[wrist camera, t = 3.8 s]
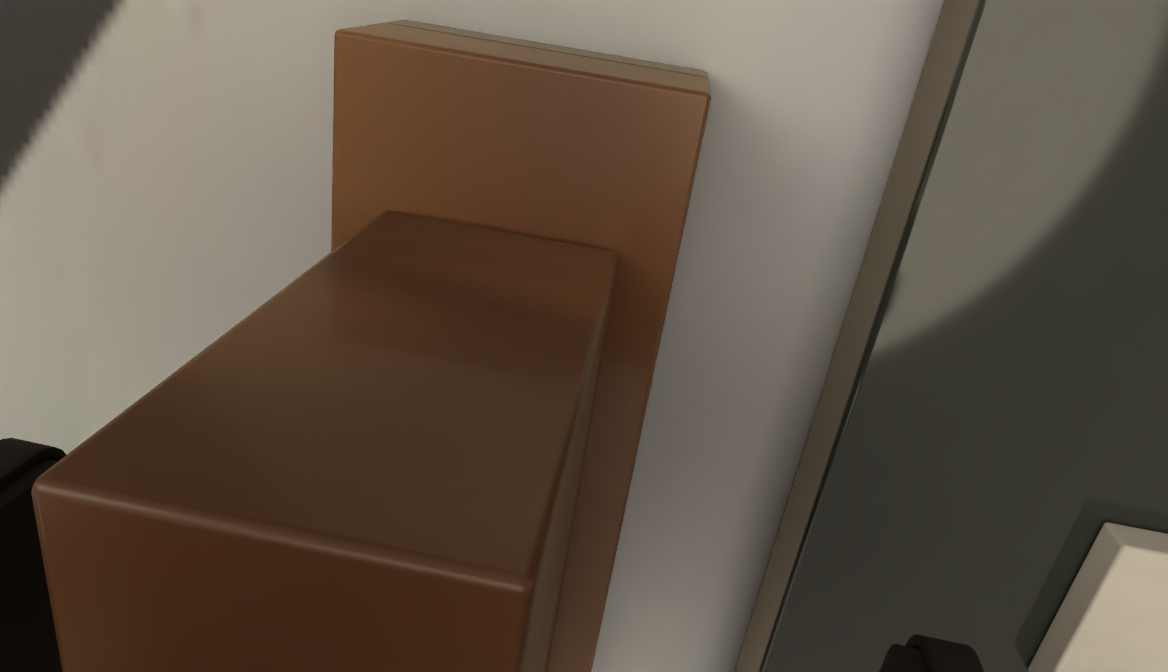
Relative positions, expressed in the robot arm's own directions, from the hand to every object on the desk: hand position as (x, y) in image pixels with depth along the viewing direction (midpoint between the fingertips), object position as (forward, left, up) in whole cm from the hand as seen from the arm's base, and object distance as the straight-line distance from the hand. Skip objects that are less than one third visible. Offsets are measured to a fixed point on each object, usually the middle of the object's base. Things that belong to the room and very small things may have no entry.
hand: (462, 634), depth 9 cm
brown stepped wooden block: (-1, 0, -5) cm, 5 cm away
